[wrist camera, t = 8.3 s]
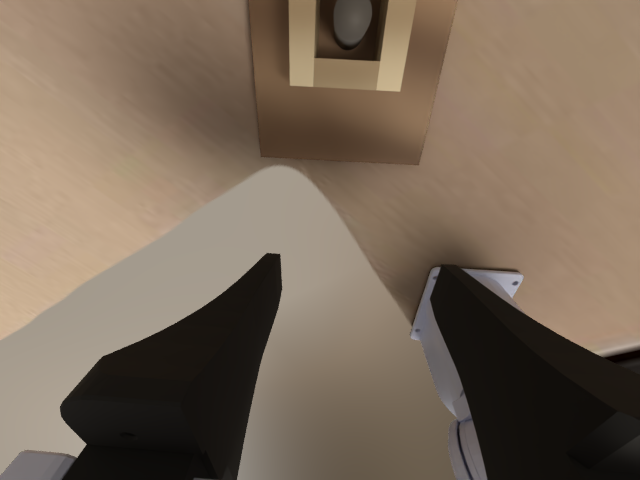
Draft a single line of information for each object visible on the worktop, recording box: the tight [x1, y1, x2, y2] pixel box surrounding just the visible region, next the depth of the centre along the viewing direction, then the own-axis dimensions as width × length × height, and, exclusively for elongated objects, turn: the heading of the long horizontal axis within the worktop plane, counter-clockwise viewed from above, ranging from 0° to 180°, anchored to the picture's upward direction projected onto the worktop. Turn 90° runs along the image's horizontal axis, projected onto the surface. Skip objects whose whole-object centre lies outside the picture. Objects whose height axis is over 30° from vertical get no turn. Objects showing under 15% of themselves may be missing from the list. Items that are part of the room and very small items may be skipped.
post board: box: [248, 0, 458, 165], centre depth 13 cm, size 14×11×5 cm
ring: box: [289, 0, 417, 92], centre depth 13 cm, size 6×6×3 cm
